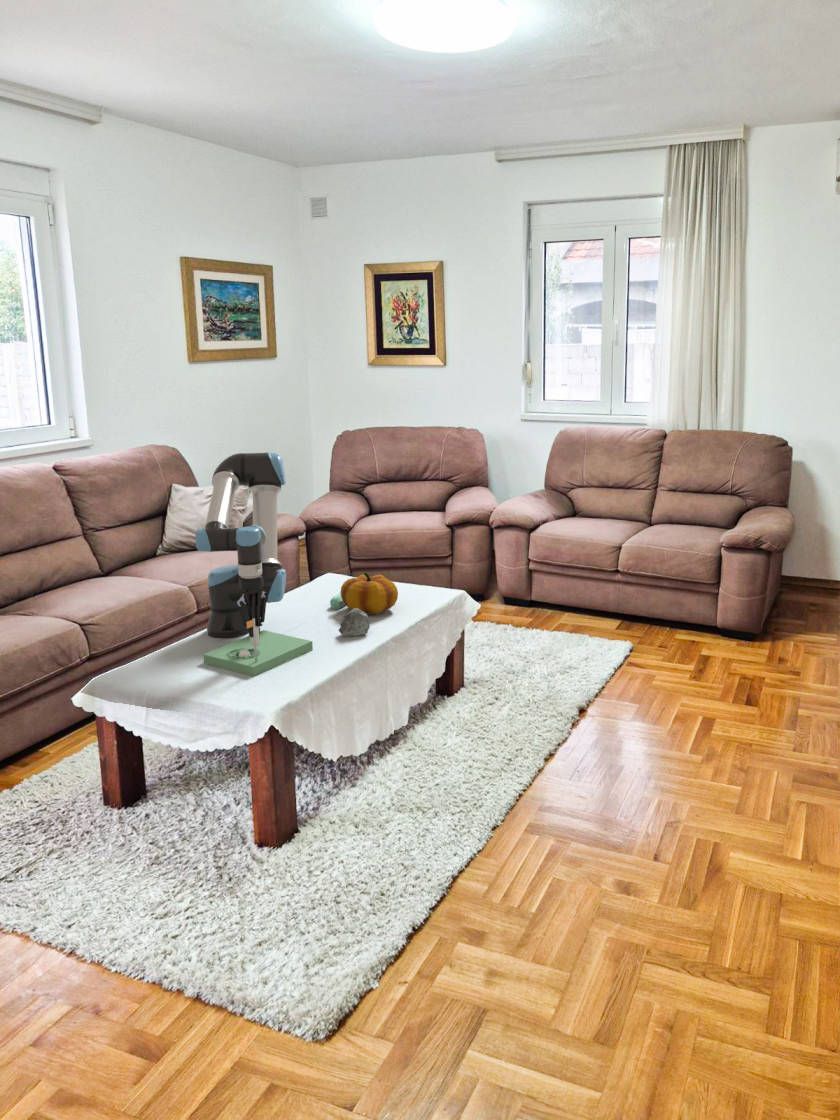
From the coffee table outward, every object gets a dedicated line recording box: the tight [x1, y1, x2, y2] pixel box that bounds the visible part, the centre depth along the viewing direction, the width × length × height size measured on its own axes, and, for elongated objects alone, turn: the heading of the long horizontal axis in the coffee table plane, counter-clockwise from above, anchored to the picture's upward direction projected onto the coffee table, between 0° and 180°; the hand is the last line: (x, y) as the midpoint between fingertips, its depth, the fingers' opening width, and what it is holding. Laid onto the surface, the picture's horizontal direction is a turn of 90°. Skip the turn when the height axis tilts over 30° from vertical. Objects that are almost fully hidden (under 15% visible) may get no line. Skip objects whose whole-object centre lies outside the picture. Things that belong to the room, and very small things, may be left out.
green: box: [202, 619, 314, 677], centre depth 298 cm, size 28×22×17 cm
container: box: [329, 592, 346, 610], centre depth 359 cm, size 6×6×25 cm
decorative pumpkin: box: [339, 571, 399, 615], centre depth 345 cm, size 20×22×15 cm
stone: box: [338, 608, 370, 637], centre depth 320 cm, size 10×10×10 cm
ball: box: [238, 650, 251, 657], centre depth 295 cm, size 4×4×4 cm
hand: (255, 645), depth 298 cm, fingers closed
